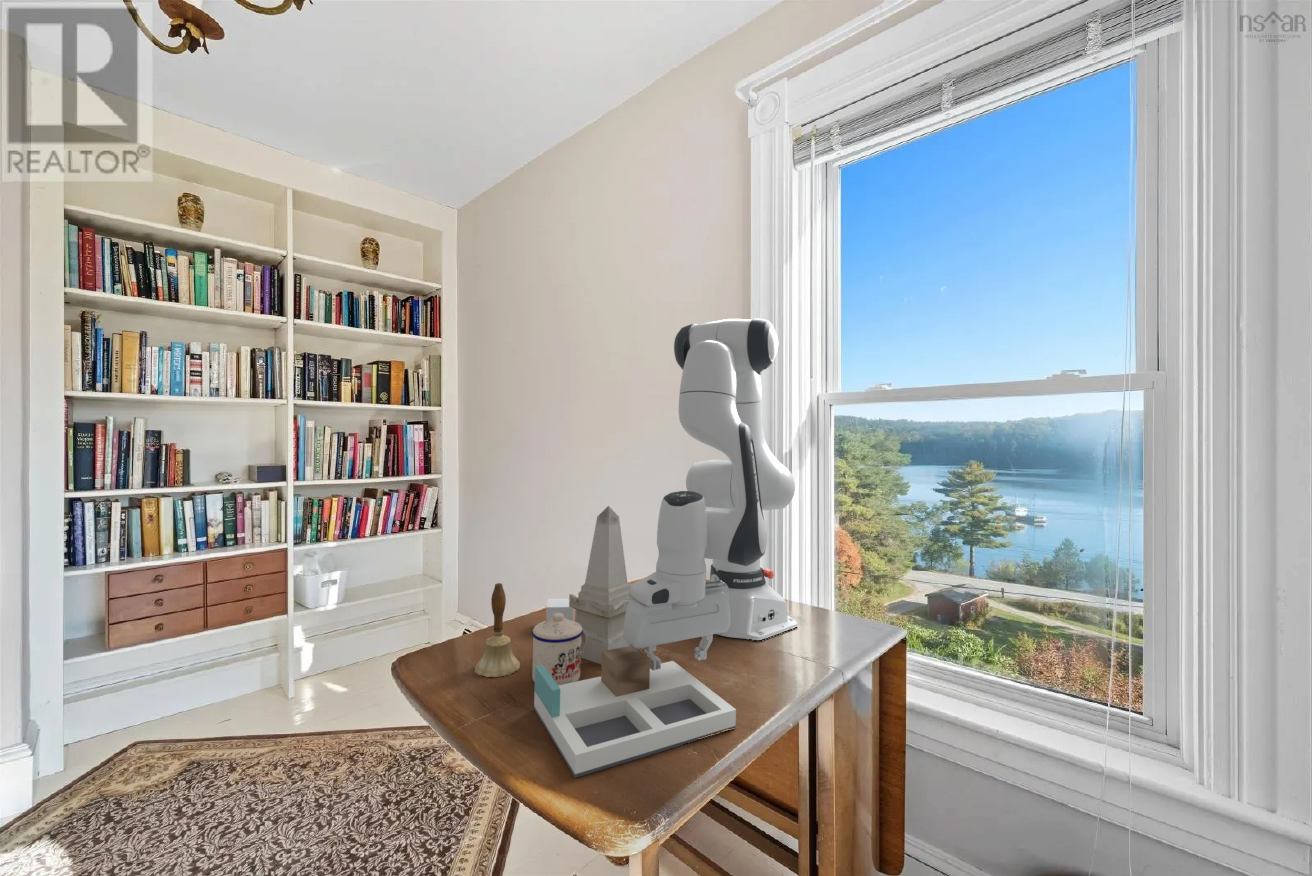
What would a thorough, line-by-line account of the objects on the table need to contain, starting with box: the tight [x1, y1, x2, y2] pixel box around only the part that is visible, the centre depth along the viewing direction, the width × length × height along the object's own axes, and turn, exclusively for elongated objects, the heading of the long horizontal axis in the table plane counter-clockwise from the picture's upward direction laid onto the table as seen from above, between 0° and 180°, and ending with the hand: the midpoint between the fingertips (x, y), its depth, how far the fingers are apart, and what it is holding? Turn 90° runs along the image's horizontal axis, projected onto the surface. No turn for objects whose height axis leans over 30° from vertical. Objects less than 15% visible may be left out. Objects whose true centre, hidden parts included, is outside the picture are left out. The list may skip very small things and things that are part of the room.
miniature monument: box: [568, 505, 633, 666], centre depth 108 cm, size 10×10×30 cm
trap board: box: [533, 660, 737, 779], centre depth 83 cm, size 26×19×7 cm
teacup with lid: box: [531, 613, 587, 685], centre depth 98 cm, size 12×9×12 cm
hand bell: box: [474, 582, 521, 678], centre depth 100 cm, size 8×8×16 cm
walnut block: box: [600, 646, 650, 697], centre depth 88 cm, size 6×6×5 cm
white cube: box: [545, 598, 575, 621], centre depth 120 cm, size 6×6×6 cm
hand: (678, 663), depth 93 cm, fingers open, 8 cm apart
